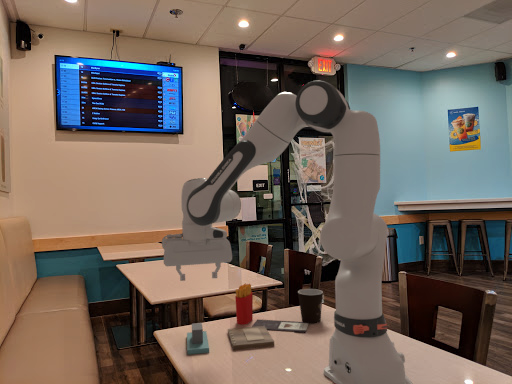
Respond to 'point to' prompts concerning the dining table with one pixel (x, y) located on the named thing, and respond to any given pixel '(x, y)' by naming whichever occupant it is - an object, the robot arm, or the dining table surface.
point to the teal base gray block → (197, 340)
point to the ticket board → (250, 338)
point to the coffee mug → (310, 305)
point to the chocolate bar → (283, 325)
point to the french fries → (244, 304)
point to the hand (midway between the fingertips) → (198, 279)
